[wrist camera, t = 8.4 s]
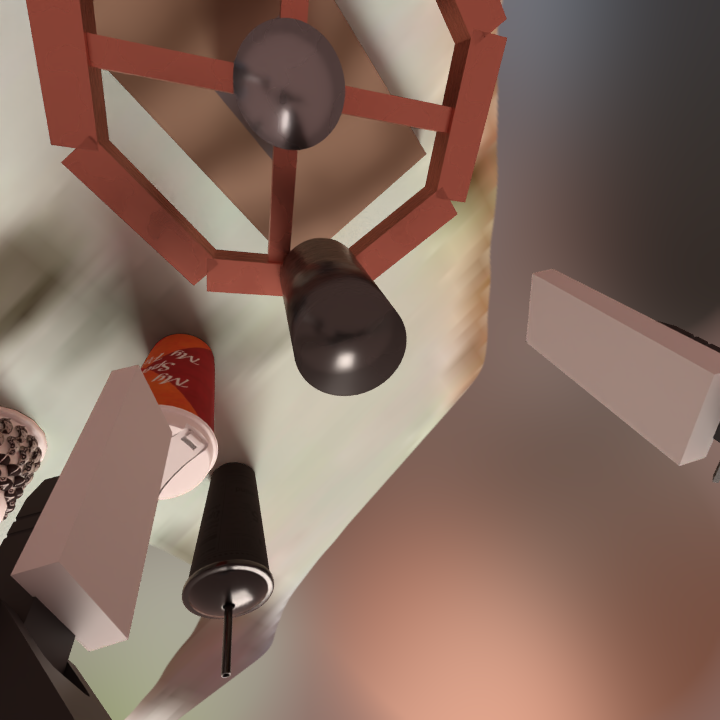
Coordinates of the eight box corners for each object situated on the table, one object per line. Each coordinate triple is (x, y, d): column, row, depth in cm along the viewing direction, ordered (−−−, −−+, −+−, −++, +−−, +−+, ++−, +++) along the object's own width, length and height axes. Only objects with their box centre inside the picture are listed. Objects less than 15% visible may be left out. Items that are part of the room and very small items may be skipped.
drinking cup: (235, 511, 50) (228, 709, 34) (183, 482, 47) (145, 690, 30) (281, 474, 49) (299, 661, 32) (232, 441, 45) (222, 634, 28)
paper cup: (189, 307, 37) (161, 396, 25) (242, 367, 41) (240, 468, 29) (117, 352, 38) (57, 460, 26) (176, 407, 42) (148, 522, 30)
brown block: (80, 34, 27) (3, -4, 18) (238, -143, 25) (232, -277, 16) (293, 262, 37) (306, 305, 29) (417, 152, 35) (471, 163, 27)
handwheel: (269, 308, 29) (284, 455, 16) (9, 44, 20) (-411, -80, 7) (480, 136, 26) (690, 154, 14) (297, -258, 17) (430, -1265, 5)
